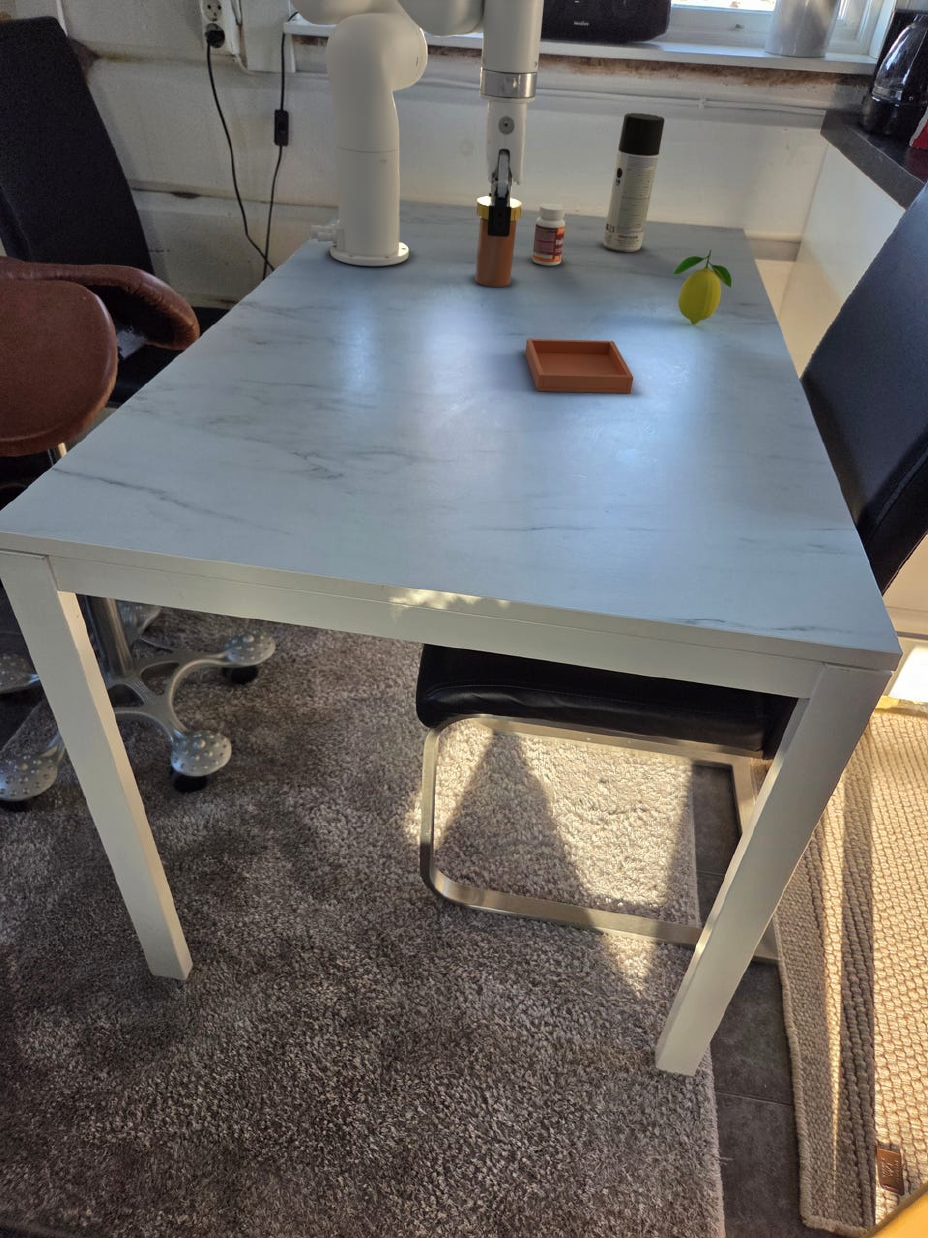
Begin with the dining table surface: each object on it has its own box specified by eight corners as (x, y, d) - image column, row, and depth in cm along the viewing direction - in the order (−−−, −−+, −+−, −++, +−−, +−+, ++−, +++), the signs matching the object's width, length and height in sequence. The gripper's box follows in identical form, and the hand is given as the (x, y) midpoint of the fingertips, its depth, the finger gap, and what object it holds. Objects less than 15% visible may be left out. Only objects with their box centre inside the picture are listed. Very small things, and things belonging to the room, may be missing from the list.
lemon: (662, 323, 117) (678, 249, 110) (678, 312, 121) (694, 240, 114) (707, 335, 114) (725, 260, 108) (722, 324, 118) (741, 250, 112)
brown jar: (476, 286, 125) (482, 210, 118) (473, 274, 129) (479, 200, 122) (512, 287, 125) (519, 212, 119) (508, 276, 129) (515, 202, 123)
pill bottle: (559, 267, 134) (565, 211, 129) (530, 264, 135) (535, 208, 130) (562, 259, 138) (569, 204, 133) (534, 255, 139) (539, 201, 133)
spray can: (615, 239, 149) (636, 110, 136) (648, 248, 146) (672, 117, 133) (595, 246, 145) (615, 114, 132) (629, 255, 142) (652, 120, 129)
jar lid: (520, 222, 119) (522, 209, 118) (476, 219, 119) (477, 205, 117) (520, 211, 124) (521, 198, 123) (477, 207, 124) (478, 194, 122)
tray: (537, 391, 97) (539, 374, 96) (525, 353, 106) (526, 338, 104) (630, 393, 98) (633, 377, 97) (611, 356, 107) (613, 340, 105)
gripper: (538, 97, 104) (525, 247, 116) (533, 79, 118) (521, 215, 129) (479, 93, 104) (471, 244, 116) (480, 76, 118) (473, 212, 129)
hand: (498, 227), depth 122 cm, fingers closed on jar lid, 6 cm apart
